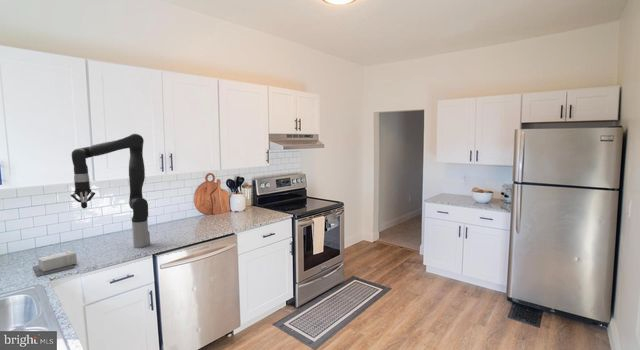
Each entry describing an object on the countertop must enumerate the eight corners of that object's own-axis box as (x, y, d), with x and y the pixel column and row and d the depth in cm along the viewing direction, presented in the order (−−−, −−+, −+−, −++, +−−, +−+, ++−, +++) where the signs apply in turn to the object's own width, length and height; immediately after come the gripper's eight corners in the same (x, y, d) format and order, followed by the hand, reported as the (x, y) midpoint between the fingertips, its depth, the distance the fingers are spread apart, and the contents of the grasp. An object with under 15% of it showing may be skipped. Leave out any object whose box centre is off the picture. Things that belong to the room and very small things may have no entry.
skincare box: (72, 260, 192) (38, 269, 180) (71, 249, 191) (37, 257, 179) (77, 263, 187) (43, 272, 175) (76, 252, 186) (41, 260, 174)
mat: (68, 259, 195) (68, 258, 195) (74, 267, 183) (74, 266, 182) (33, 267, 183) (32, 266, 183) (37, 276, 171) (37, 275, 171)
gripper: (93, 179, 208) (95, 205, 210) (67, 181, 198) (70, 209, 201) (96, 180, 203) (98, 207, 205) (69, 182, 193) (72, 210, 195)
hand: (84, 208), depth 203 cm, fingers closed
